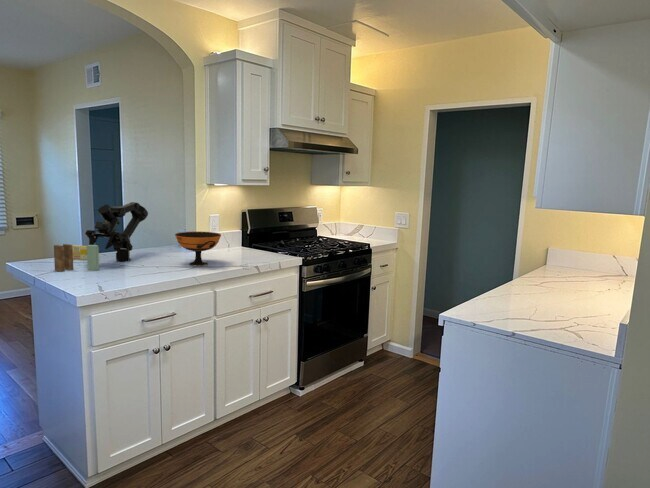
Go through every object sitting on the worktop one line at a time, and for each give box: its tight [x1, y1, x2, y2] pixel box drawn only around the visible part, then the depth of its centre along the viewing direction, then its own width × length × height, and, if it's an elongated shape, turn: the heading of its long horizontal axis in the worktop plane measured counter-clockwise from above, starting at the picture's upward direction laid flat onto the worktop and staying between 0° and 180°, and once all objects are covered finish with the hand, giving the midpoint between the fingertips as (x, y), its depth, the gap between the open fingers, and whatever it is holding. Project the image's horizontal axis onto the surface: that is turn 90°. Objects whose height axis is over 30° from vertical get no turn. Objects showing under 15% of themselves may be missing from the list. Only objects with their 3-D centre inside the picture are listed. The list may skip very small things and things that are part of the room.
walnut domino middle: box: [62, 243, 74, 271], centre depth 234 cm, size 2×5×13 cm, turn 61°
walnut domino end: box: [53, 244, 65, 272], centre depth 230 cm, size 2×5×13 cm, turn 61°
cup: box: [174, 231, 222, 267], centre depth 261 cm, size 36×26×18 cm
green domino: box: [86, 244, 100, 272], centre depth 235 cm, size 2×5×13 cm, turn 83°
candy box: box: [71, 244, 100, 261], centre depth 260 cm, size 16×2×8 cm, turn 84°
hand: (97, 248), depth 239 cm, fingers open, 9 cm apart
